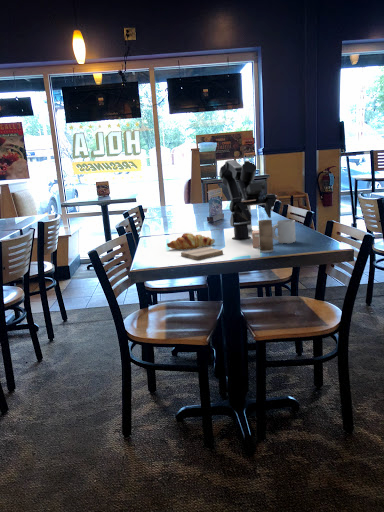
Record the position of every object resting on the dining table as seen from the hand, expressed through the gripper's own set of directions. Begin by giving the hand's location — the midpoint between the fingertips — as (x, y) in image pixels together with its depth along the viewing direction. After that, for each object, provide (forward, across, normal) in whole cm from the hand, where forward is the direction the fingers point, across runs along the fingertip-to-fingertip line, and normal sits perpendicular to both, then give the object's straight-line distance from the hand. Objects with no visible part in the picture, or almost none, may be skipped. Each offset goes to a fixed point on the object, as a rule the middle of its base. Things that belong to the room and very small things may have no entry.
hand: (259, 218), depth 163 cm
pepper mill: (+13, 0, +4) cm, 13 cm away
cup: (+4, +13, +13) cm, 19 cm away
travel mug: (-24, +10, +41) cm, 48 cm away
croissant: (-7, -24, +24) cm, 35 cm away
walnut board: (+6, -24, +11) cm, 27 cm away
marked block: (+4, +2, +13) cm, 14 cm away
